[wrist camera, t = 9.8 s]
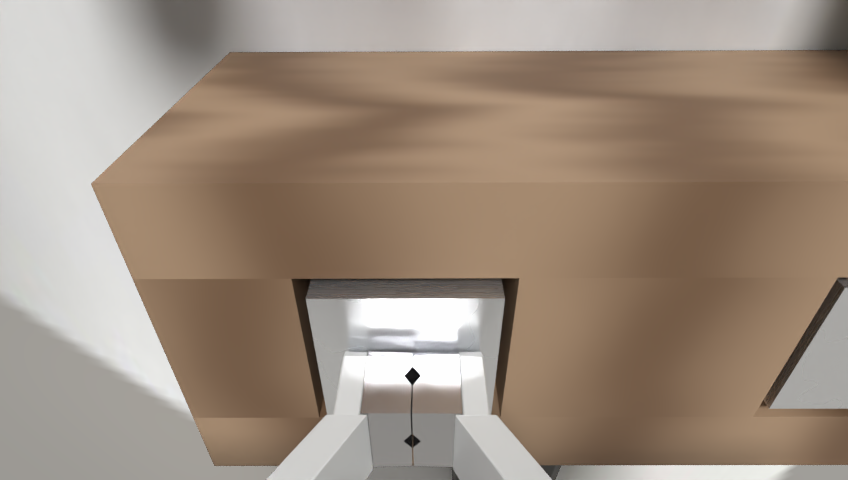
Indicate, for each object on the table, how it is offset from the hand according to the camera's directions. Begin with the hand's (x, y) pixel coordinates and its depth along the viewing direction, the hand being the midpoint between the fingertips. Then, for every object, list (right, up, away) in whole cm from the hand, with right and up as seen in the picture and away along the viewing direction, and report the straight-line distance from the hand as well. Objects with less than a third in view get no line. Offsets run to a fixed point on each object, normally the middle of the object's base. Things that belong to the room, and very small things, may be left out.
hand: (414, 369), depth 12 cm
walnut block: (+5, +5, +7) cm, 10 cm away
